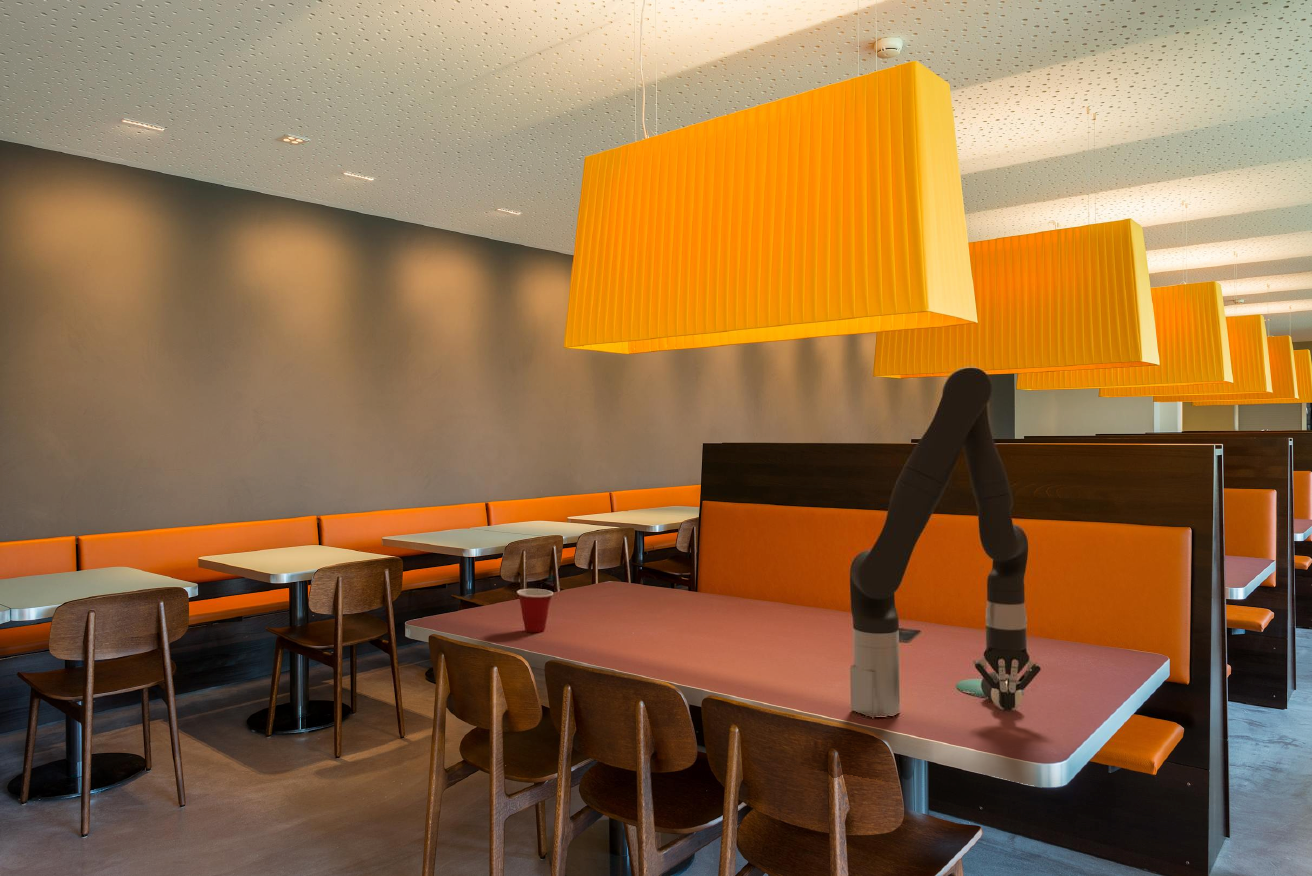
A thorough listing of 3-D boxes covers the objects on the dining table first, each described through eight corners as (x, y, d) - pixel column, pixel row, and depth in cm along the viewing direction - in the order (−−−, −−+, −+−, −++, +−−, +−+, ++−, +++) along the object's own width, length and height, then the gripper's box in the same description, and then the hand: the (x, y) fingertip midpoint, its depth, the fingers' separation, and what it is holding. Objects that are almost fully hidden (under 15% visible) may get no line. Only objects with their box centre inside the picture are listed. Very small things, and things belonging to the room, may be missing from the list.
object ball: (1000, 706, 176) (999, 678, 176) (975, 699, 182) (975, 671, 181) (1017, 701, 180) (1016, 673, 180) (992, 694, 185) (992, 667, 185)
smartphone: (922, 630, 243) (908, 641, 230) (922, 633, 243) (908, 644, 230) (896, 627, 247) (881, 638, 234) (896, 630, 247) (881, 641, 234)
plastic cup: (551, 635, 245) (550, 594, 245) (514, 635, 245) (513, 594, 245) (556, 626, 256) (555, 587, 256) (521, 626, 256) (520, 587, 256)
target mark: (997, 703, 179) (997, 702, 179) (942, 686, 191) (942, 686, 191) (1036, 691, 187) (1036, 690, 187) (981, 676, 198) (981, 675, 198)
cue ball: (1008, 670, 174) (1007, 681, 179) (984, 686, 174) (984, 696, 178) (1029, 694, 170) (1028, 704, 175) (1005, 710, 170) (1004, 720, 174)
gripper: (1037, 620, 172) (1038, 705, 172) (968, 618, 174) (969, 701, 175) (1045, 629, 164) (1046, 717, 164) (974, 626, 167) (975, 713, 167)
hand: (1006, 709), depth 169 cm, fingers closed
